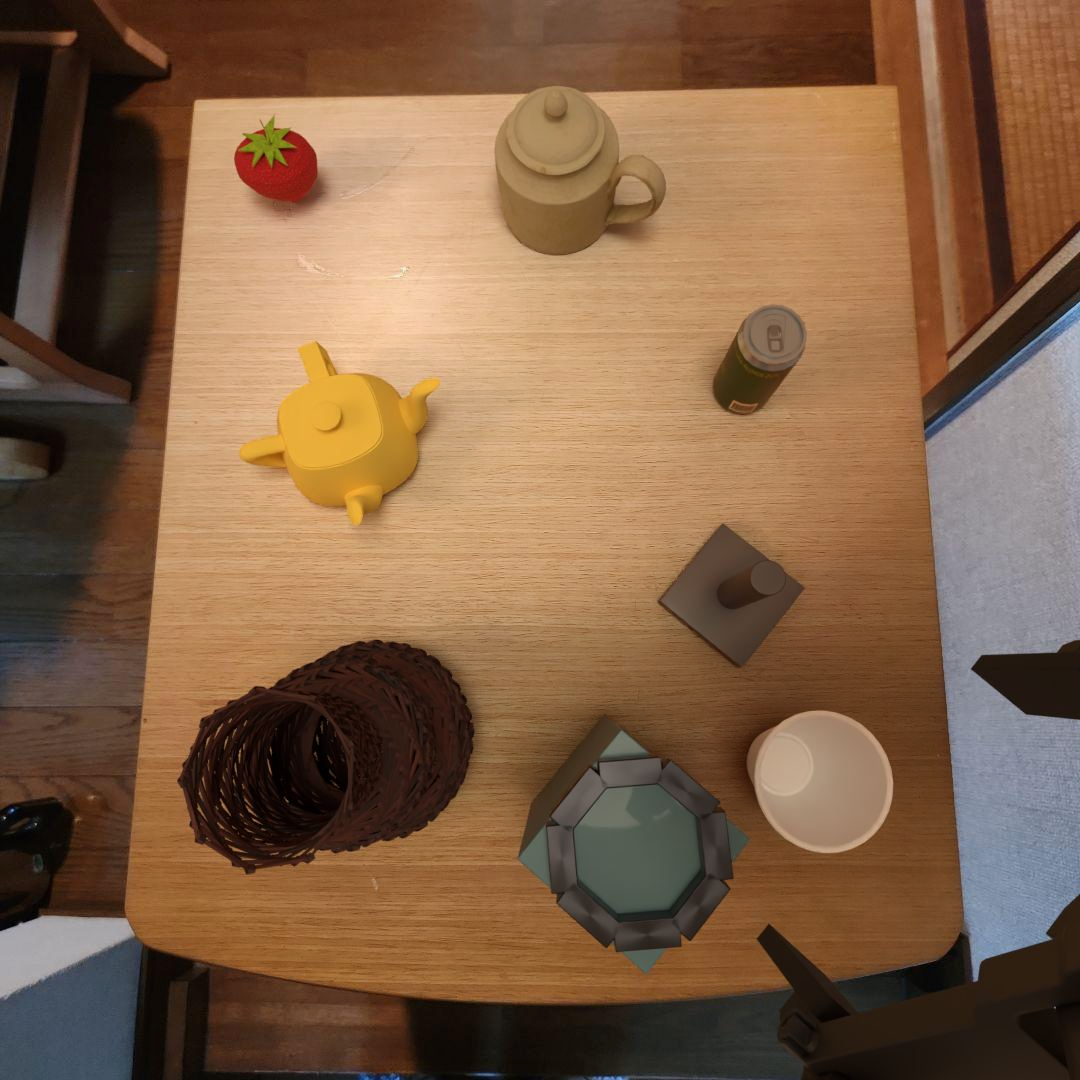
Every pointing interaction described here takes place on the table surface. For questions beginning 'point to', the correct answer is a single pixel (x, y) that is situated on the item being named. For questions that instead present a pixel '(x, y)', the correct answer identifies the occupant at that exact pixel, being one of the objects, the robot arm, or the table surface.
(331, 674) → the vase
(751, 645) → the holder
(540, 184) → the lidded mug
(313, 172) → the strawberry
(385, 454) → the teapot
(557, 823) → the ring
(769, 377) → the beer can
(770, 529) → the table surface
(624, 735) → the stand
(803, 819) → the cup
